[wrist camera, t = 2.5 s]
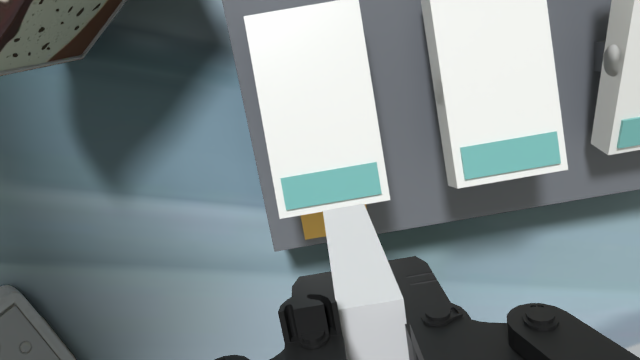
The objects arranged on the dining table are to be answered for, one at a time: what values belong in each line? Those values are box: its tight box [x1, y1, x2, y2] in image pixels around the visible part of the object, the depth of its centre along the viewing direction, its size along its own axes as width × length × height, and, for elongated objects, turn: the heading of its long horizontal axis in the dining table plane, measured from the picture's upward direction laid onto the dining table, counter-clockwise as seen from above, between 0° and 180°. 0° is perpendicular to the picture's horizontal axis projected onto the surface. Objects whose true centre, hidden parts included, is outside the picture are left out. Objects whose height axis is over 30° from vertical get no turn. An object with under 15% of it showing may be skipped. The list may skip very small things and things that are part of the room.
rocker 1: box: [244, 0, 390, 219], centre depth 23 cm, size 10×6×2 cm, turn 9°
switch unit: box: [222, 0, 640, 251], centre depth 27 cm, size 17×26×6 cm, turn 99°
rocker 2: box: [421, 0, 568, 189], centre depth 23 cm, size 10×6×2 cm, turn 9°
